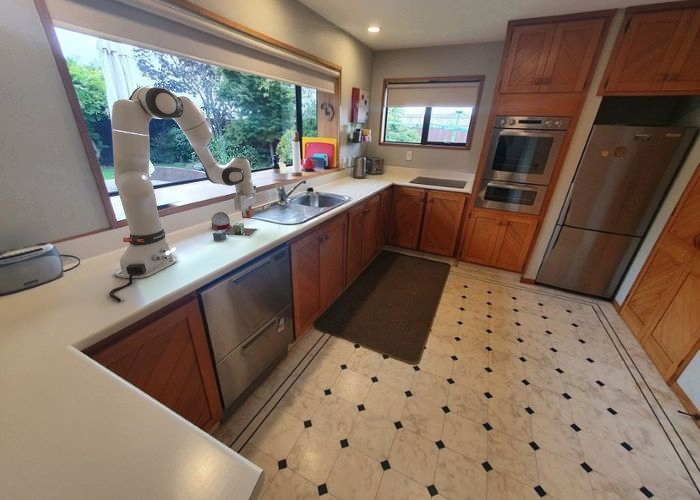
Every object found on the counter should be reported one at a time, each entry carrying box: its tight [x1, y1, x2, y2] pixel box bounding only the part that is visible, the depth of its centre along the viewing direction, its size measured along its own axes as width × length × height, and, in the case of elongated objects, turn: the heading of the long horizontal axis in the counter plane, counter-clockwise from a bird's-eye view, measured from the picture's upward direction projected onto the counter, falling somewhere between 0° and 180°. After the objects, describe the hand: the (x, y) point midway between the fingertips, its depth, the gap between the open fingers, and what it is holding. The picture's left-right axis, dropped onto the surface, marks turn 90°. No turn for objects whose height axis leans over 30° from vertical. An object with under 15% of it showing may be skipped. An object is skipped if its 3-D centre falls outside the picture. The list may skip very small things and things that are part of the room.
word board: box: [224, 226, 258, 237], centre depth 159 cm, size 12×17×1 cm
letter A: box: [232, 222, 245, 233], centre depth 158 cm, size 4×4×4 cm
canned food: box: [210, 211, 231, 231], centre depth 164 cm, size 11×10×10 cm
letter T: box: [212, 230, 227, 242], centre depth 147 cm, size 4×4×4 cm
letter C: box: [241, 207, 254, 220], centre depth 154 cm, size 4×4×4 cm
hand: (247, 214), depth 154 cm, fingers closed on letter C, 4 cm apart
